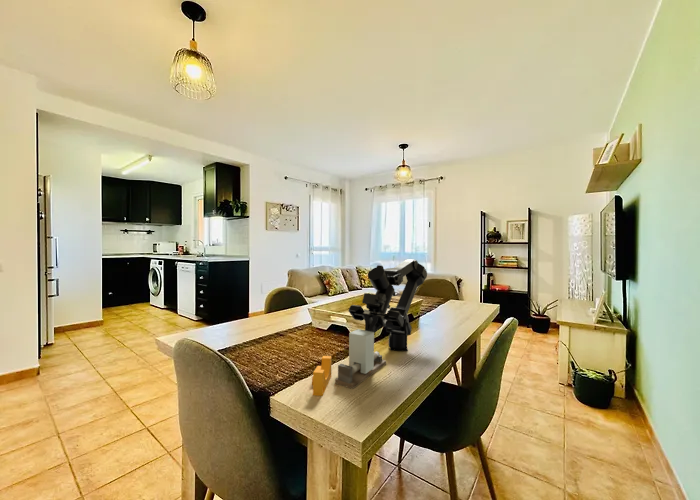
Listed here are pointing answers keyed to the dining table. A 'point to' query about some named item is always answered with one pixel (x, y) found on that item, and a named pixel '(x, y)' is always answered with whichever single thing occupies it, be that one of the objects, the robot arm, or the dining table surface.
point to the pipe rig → (357, 372)
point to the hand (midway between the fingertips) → (366, 337)
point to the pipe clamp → (322, 376)
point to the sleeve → (361, 349)
